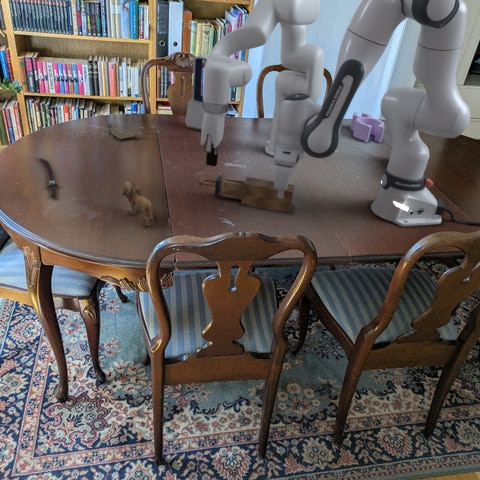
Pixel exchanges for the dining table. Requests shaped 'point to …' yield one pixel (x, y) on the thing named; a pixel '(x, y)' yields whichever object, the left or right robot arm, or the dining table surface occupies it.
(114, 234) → the dining table surface
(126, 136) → the jawbone
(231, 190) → the wooden handle frame
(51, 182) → the sword
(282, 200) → the cabinet
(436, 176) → the dining table surface
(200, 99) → the electronic device
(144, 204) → the lion figurine
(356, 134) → the clip
